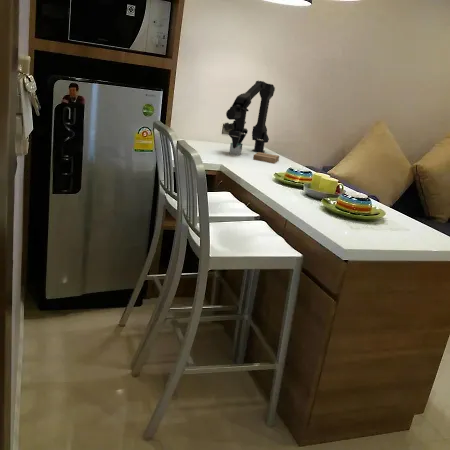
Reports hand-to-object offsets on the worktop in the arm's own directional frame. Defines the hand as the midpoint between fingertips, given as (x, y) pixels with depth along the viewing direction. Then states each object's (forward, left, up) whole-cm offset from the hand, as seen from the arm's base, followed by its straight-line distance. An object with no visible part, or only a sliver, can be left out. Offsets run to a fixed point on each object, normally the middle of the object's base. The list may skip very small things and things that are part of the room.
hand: (236, 147), depth 291 cm
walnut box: (0, +18, -4) cm, 19 cm away
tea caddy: (0, 0, -4) cm, 4 cm away
